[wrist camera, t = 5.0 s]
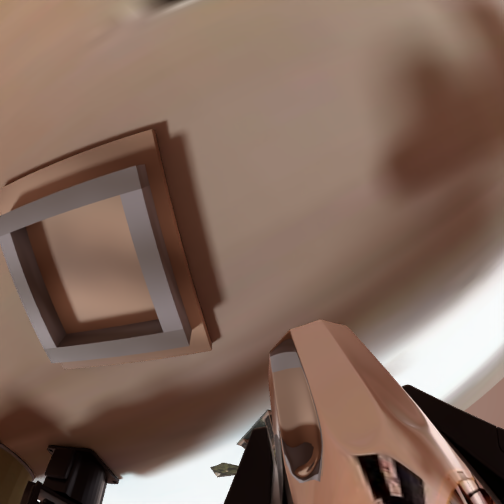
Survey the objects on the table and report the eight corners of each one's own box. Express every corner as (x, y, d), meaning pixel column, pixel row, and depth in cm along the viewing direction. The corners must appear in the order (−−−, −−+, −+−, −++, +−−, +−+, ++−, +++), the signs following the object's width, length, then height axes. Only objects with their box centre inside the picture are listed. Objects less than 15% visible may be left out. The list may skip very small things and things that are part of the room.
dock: (211, 343, 21) (210, 367, 18) (67, 363, 20) (55, 383, 18) (154, 130, 16) (143, 126, 14) (1, 189, 16) (-21, 195, 14)
